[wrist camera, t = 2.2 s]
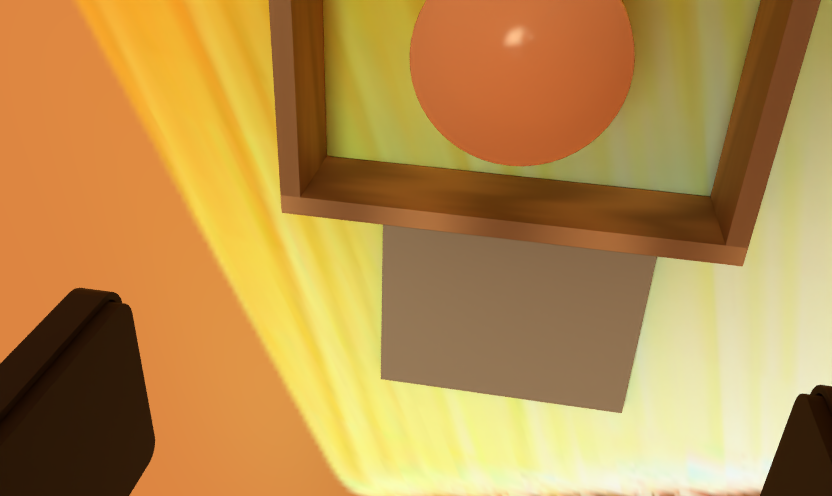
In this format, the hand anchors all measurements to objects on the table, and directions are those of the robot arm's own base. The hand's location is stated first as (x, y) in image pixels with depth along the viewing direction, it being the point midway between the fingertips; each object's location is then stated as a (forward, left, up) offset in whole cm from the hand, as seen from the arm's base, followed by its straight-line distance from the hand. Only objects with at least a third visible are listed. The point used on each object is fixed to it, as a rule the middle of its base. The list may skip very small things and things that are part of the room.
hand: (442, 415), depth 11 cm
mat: (-1, +14, -23) cm, 27 cm away
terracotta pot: (0, 0, -23) cm, 23 cm away
